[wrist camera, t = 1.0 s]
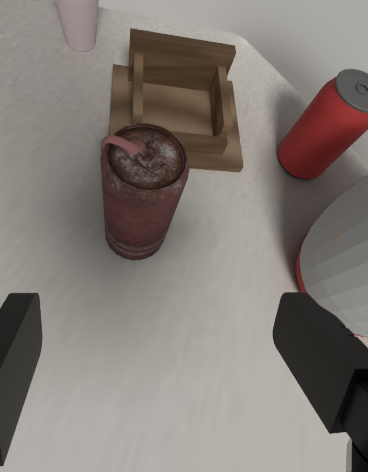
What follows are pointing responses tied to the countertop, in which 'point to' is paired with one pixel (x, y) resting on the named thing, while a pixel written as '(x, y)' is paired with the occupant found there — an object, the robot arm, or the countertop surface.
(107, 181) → the can
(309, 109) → the beer can
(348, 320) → the citrus juicer
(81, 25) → the smoothie
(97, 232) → the countertop surface
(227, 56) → the dock
